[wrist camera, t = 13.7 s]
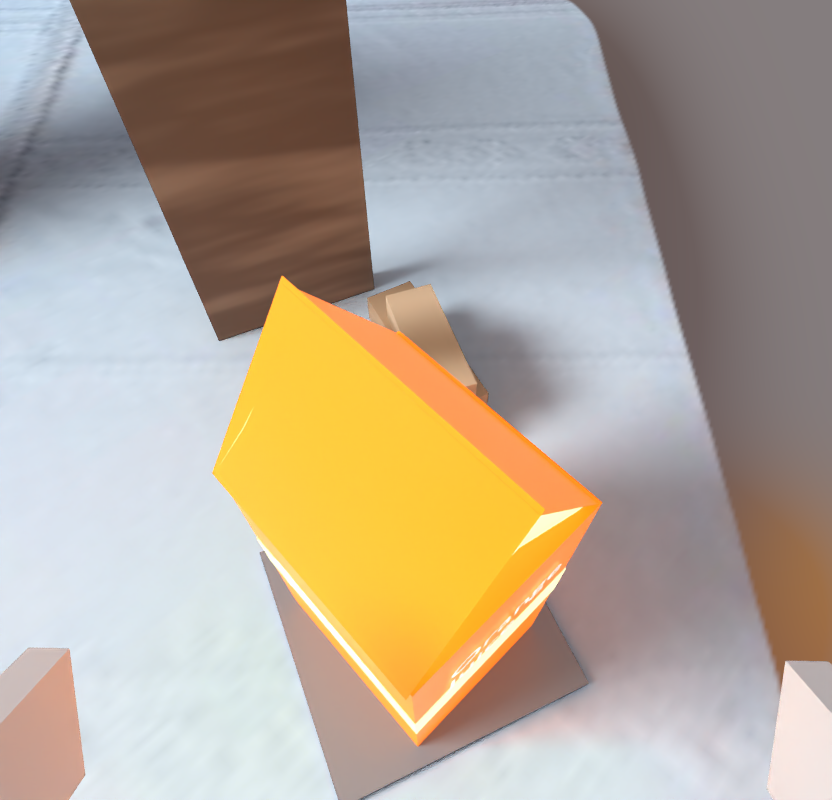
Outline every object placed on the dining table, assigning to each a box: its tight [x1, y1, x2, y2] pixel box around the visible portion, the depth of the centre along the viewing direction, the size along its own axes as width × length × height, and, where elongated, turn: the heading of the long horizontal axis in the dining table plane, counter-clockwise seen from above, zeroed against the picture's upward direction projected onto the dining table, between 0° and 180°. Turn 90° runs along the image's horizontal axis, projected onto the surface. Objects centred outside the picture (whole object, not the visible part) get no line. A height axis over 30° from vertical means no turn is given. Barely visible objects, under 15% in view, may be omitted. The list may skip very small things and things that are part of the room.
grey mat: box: [260, 551, 589, 800], centre depth 31 cm, size 12×12×1 cm
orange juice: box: [213, 276, 602, 746], centre depth 23 cm, size 8×9×20 cm
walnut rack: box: [70, 0, 489, 405], centre depth 30 cm, size 18×12×24 cm, turn 24°
